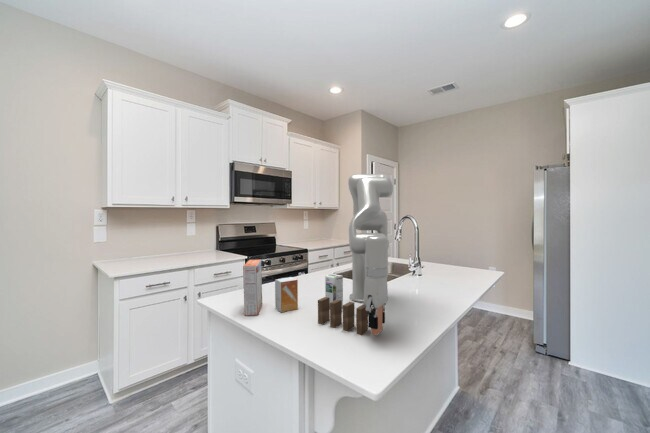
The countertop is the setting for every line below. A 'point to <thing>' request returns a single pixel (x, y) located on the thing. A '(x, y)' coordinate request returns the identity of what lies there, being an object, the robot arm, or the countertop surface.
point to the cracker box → (252, 287)
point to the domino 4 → (361, 320)
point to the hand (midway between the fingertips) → (376, 324)
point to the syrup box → (334, 287)
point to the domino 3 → (348, 316)
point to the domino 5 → (380, 321)
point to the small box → (286, 294)
